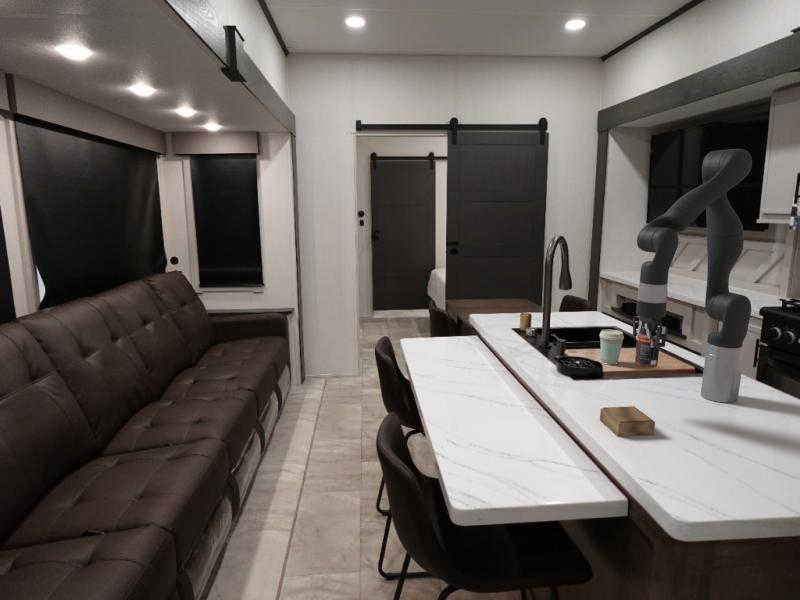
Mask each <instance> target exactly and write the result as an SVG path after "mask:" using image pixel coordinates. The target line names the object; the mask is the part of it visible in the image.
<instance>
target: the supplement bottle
mask: <svg viewBox="0 0 800 600" xmlns="http://www.w3.org/2000/svg"><path fill="white" fill-rule="evenodd" d="M641 331H642V332H641V333H639V334H638V335H637V340H636V346H635V358H634V359H635V361H634V362H635V363H634V364H635V365H637V366H638V367H641V368H645V369H646V368H647V369H652V368H653V369H654V368H656V367H657V366H658V365H659V364H658V362H659V359H658V360H650V359H649V354H650V347H651V346H650V340H649V339H648V338H647V332H646V329H645V327H644V326H642V329H641ZM652 336H656V335H652ZM653 340H654V343H655V339H653ZM658 357H659V355H658Z"/></svg>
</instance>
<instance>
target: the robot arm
mask: <svg viewBox="0 0 800 600" xmlns="http://www.w3.org/2000/svg"><path fill="white" fill-rule="evenodd" d="M752 166H753V158H752V156H751V153H750V152H749V151H748V150H747V149H743V148H731V149H718V150H712V151H709V152H708V153H707V154H705V156H704V157H703V161H702V165H701V178H702V184H700V185H699V186H697V187H695V188H693V189H692V190H689V191H688V192H686V193H685V194H684V195H682V196H681V197H679V198H678V199H677V200H676V201H675V202H674V203H672V205H671V206H670V207H669V208H668V209H667V211H666V212H665V213H663V214H662V215H659V216H657V218H654V219H653V220H651V221H649V223H647V224H646V225H644V227H642V228H641V229H640V231H638V235H637V237H636V244H637V247H638V249H639V250H641V251H643V252H647V253H654V256H653V259H652V260H647V261H644V262H642V263H641V265H640V274H639V284H638V288H637V299H636V308H635V309H636V310H635V313H636V315H637V316H636V315H635V316H632V336H633V337H634V338H635V340H636V341H637V335H638V334H639V333H641V332H642V331H641V329H642V326H644V327H645V329H646V332H647V338H648V339H649V340H650V346H651V347H650V354H649V359H650V360H658V361H659V356H658V355H659V353H660V348H665V347H666V342H667V337H668V332H669V326H663V325H662V319H663V318H664V317H666V312H667V304H668V303H667V302H668V293H669V291H668V282H669V272H670V268H671V265H672V263H673V260H674V257H675V255H676V252H677V250H678V247H679V235H678V233H682V232H684V231H685V230H686V229H688V228H689V226H690V225H691V224H692V223H693V222H694V221H695V220H696V219H697V218H698V217H699V216H700V214H702V213H703V212H704V211H705V210H706V211H705V212H706V214H705V215H706V251H707V272H706V273H707V277H706V279H707V280H706V289H705V290H706V291H705V298H704V299H705V300H704V301H705V302H704V306H705V312H706V314H707V316H708V317H709V318H710V319H712V320H715V321H718V322H722V326H721V329H720V330H718V331H712V332H709V333H708V335H707V338H706V339H707V340H706V348H705V356H704V357H705V358H704V364H703V372H702V382H701V387H700V396H701V397H703V398H704V399H707V400H710V401H713V402H718V403H732V402H734V401H738V400H739V393H740V387H741V381H742V380H741V379H742V370H741V369H740V365H741V359H742V358H741V357H742V349H743V343H744V341H745V339H746V337H747V335H748V329H749V325H750V324H749V323H750V320H751V315H752V303H751V300H750V298H749V297H747V296H746V295H743V294H740V293H735V292H730V288H729V287H730V286H729V285H730V284H729V280H730V275H731V272H732V270H733V268H734V266H735V265H736V263H737V262H738V260H739V259H740V257H741V255H742V253H743V250H744V226H743V223H742V221H741V219H740V217H739V216H738V214H737V213H736V212H735V209H734V208H733V207H732V205H731V203H730V201H729V199H728V197H727V196H728V195H727V192H729V191H730V190H731V189H732V188H734V187H735V186H737V185H738V184H740V183H742V181H743V180H744V179H745V178H746V177H747V176H748V175H749V173H750V172H751V169H752ZM652 335H656V336H652ZM653 339H655V343H654V340H653Z"/></svg>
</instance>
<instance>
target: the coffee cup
mask: <svg viewBox="0 0 800 600" xmlns="http://www.w3.org/2000/svg"><path fill="white" fill-rule="evenodd" d="M624 338H625V336H624V333H623V332H622V330H617V329H602V330H601V331H600V333H599V339H600V341H599V342H600V343H599V344H600V363H602V362H603V363H607V364H616V363H618V364H619V359H620V355H621V350H622V346H623V341H624ZM603 363H602V364H603Z"/></svg>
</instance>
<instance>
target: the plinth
mask: <svg viewBox="0 0 800 600" xmlns="http://www.w3.org/2000/svg"><path fill="white" fill-rule="evenodd" d="M599 412H600V414H599V417H600V418H599V421H600V422H601V423H602V424H603V425H604V426H605V427H607V429H609V430H610V432H612V434H614V435H615V436H616V437H634V436H635V437H637V436H639V437H640V436H654V435H655V428H656V421H655V420H653V419H652V418H651V417H649V416H648V415H647V414H646V413H644V412H643V411H641V410H640V409H639V408H637V407H636V406H633V405H632V406H631V405H630V406H609V407H608V406H607V407H602V408H600V411H599Z"/></svg>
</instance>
